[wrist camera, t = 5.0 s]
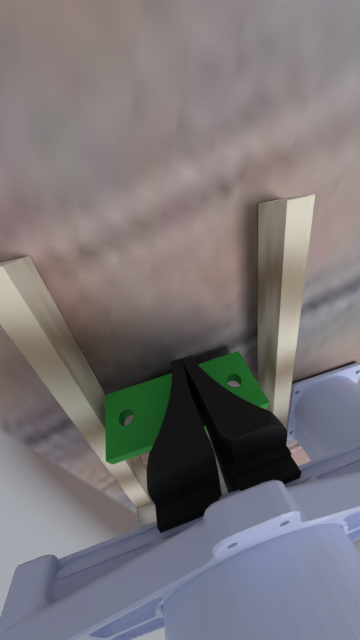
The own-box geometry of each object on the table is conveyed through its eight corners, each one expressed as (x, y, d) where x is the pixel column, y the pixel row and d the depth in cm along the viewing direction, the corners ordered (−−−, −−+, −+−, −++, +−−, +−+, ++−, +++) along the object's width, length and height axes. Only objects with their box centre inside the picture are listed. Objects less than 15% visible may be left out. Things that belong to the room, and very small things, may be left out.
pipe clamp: (121, 411, 17) (125, 471, 14) (105, 393, 15) (104, 461, 12) (236, 373, 18) (263, 422, 15) (238, 350, 15) (271, 404, 12)
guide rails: (269, 432, 24) (283, 454, 21) (136, 479, 22) (136, 507, 20) (281, 198, 12) (315, 194, 10) (-2, 262, 10) (-37, 274, 8)
